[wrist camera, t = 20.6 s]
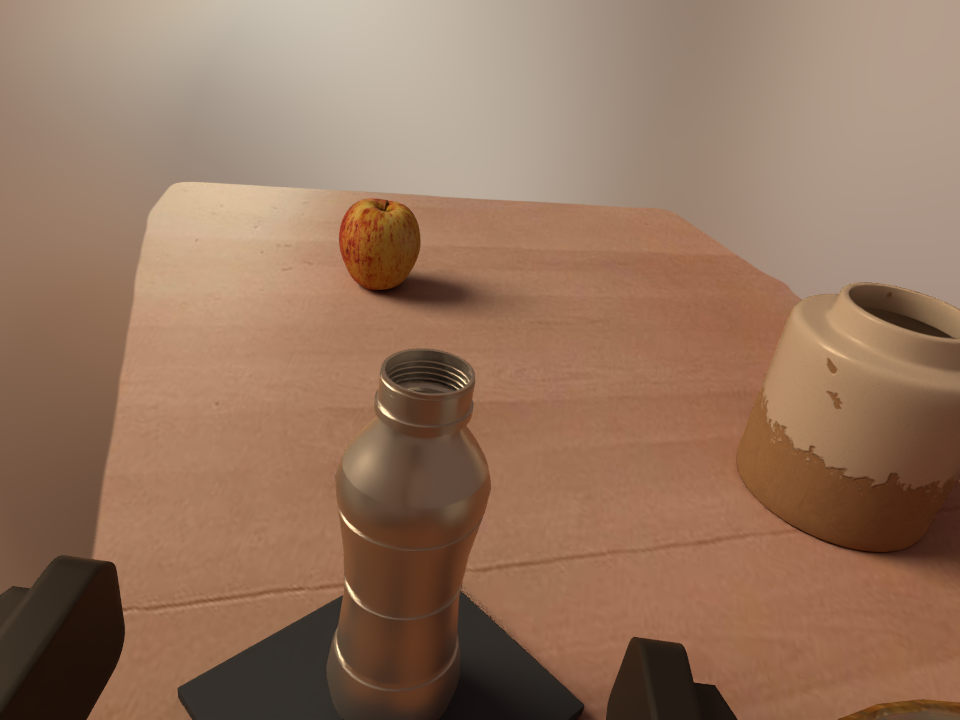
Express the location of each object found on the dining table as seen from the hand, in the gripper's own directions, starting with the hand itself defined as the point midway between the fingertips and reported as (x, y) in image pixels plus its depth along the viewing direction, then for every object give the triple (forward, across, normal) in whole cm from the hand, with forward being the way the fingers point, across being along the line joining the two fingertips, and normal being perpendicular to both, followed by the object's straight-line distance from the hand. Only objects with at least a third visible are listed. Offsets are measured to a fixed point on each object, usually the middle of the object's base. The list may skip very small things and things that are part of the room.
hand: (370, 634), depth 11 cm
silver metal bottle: (+16, 0, +25) cm, 30 cm away
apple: (+69, +10, +26) cm, 75 cm away
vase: (+42, -33, +26) cm, 59 cm away
